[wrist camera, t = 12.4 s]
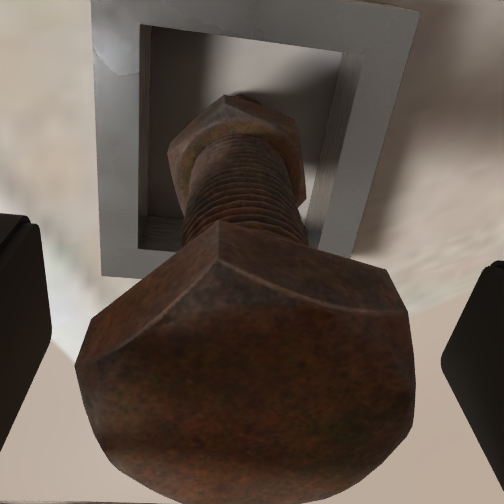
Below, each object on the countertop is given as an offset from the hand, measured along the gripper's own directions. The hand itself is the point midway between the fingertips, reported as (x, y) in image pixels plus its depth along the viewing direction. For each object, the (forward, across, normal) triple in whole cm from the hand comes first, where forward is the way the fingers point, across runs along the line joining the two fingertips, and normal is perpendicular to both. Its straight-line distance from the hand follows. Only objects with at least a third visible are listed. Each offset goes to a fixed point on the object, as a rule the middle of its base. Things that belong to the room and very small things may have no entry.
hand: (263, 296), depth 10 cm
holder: (+12, 0, 0) cm, 12 cm away
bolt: (+12, 0, 0) cm, 12 cm away
